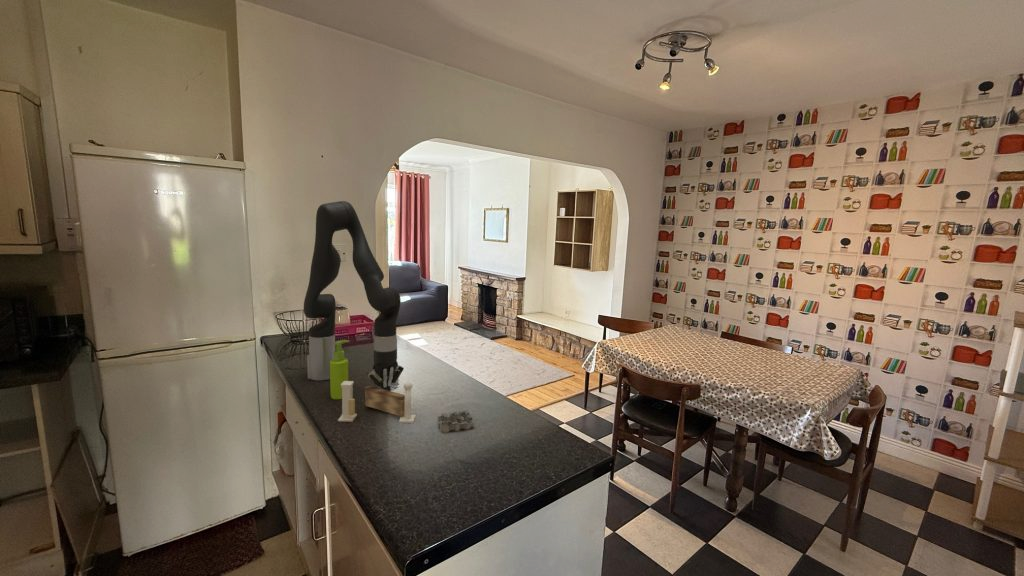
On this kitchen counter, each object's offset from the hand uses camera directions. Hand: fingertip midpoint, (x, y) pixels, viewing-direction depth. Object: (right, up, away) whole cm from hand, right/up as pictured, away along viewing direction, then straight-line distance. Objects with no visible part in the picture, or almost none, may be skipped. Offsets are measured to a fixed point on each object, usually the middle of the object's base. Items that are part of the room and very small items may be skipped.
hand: (385, 396), depth 137 cm
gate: (+1, -3, -4) cm, 6 cm away
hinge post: (+10, -5, -8) cm, 13 cm away
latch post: (-9, -5, -9) cm, 14 cm away
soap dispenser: (-18, -2, +7) cm, 20 cm away
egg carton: (+25, -7, -10) cm, 28 cm away
